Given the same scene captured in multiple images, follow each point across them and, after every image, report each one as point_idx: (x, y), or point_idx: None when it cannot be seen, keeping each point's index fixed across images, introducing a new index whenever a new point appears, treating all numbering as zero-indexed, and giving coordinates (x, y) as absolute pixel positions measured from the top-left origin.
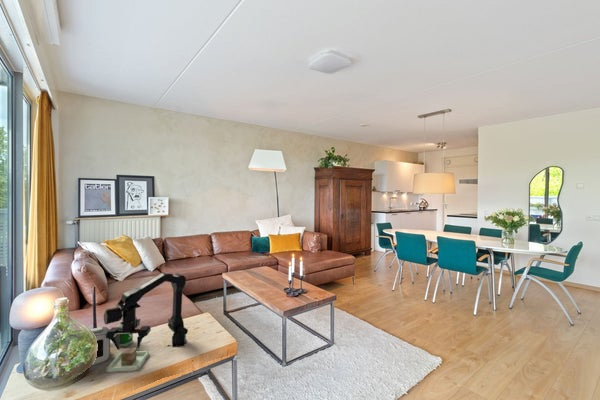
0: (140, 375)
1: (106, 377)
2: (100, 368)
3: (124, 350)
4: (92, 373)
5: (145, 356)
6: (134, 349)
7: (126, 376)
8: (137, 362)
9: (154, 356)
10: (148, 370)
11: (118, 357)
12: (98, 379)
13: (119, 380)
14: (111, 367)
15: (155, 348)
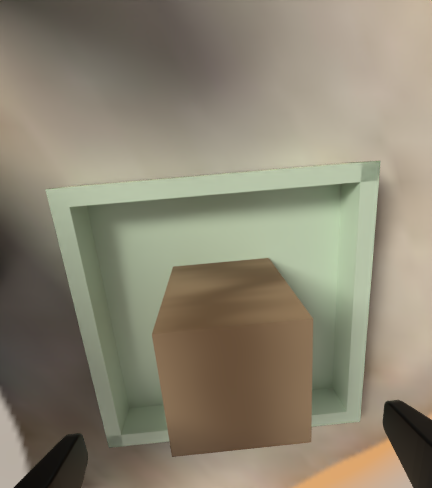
0: (379, 442)
1: (159, 462)
2: (32, 376)
3: (167, 389)
4: (21, 428)
5: (368, 266)
6: (303, 366)
7: (290, 452)
8: None
9: (422, 207)
10: (419, 395)
11: (89, 268)
12: (119, 479)
13: (264, 484)
14: (142, 435)
15: (397, 27)
